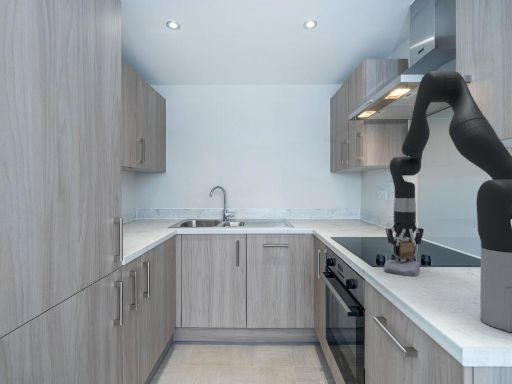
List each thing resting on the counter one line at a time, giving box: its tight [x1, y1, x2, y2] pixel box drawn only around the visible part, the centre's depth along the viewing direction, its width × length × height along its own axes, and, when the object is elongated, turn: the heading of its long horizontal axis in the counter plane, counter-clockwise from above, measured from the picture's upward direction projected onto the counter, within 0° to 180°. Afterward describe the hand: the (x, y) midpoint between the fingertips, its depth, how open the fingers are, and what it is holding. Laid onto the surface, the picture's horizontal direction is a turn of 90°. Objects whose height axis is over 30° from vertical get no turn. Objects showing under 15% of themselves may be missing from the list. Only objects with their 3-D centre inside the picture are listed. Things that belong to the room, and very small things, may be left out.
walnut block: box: [394, 240, 416, 260], centre depth 122 cm, size 5×5×6 cm
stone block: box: [383, 259, 421, 277], centre depth 120 cm, size 12×5×10 cm
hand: (404, 255), depth 122 cm, fingers closed on walnut block, 5 cm apart
